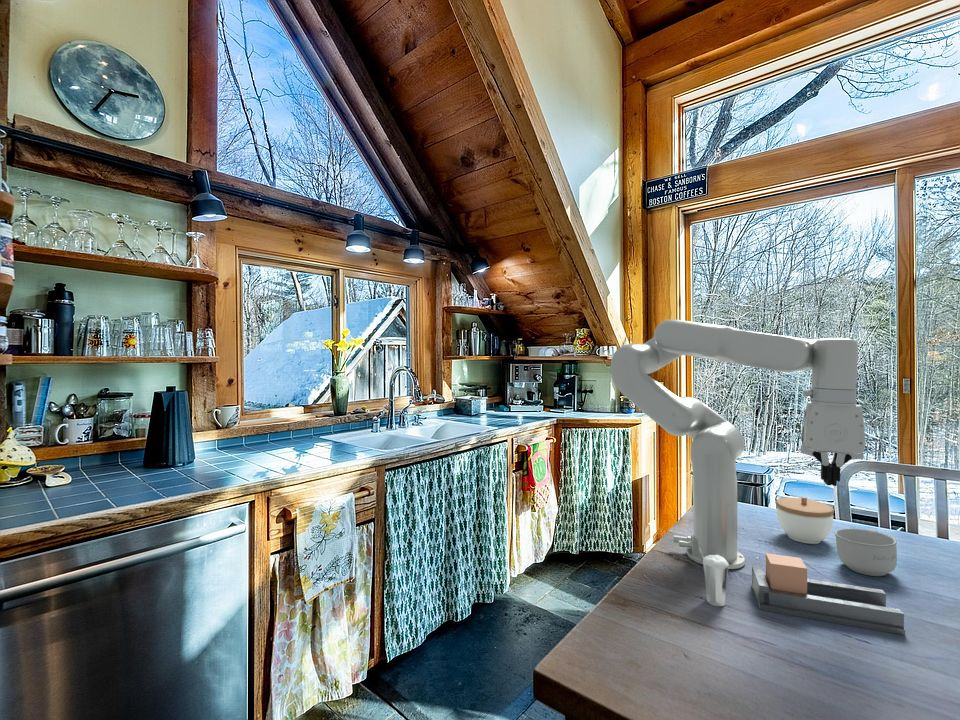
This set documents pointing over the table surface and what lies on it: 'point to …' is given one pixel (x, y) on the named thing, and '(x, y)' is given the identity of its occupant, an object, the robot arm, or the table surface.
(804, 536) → the lidded bowl
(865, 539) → the teacup
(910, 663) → the table surface
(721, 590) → the milkshake
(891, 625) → the chute
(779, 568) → the block
